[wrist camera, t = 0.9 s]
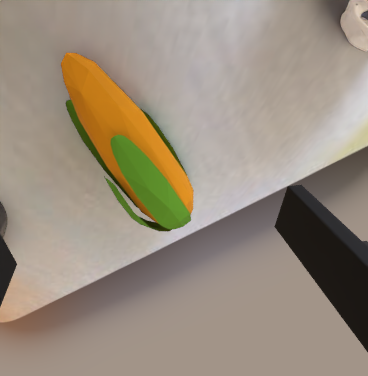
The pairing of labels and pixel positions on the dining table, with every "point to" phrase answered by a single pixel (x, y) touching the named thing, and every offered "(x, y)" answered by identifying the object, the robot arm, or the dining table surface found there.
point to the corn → (127, 146)
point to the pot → (2, 220)
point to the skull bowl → (356, 24)
